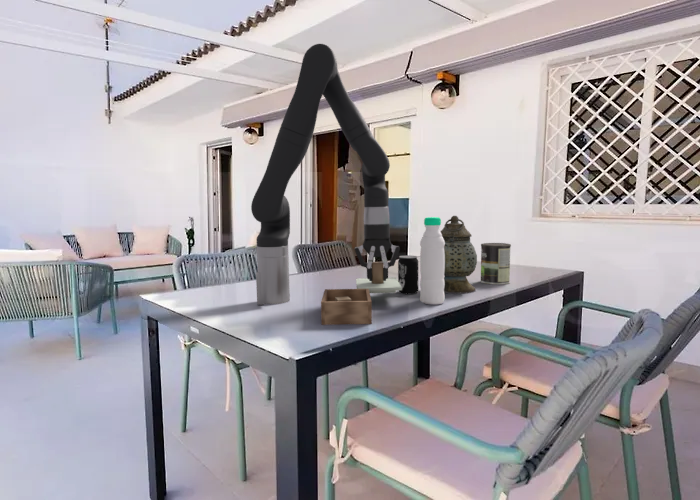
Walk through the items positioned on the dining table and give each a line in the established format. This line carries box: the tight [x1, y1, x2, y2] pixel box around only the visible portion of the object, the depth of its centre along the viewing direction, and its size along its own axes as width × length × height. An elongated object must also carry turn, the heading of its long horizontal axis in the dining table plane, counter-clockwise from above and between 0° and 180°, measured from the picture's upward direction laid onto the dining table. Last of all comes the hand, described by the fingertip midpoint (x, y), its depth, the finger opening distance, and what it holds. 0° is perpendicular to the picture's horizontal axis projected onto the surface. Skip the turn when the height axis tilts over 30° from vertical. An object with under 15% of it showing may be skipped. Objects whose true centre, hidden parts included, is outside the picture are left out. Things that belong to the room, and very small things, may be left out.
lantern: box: [440, 215, 478, 295], centre depth 142 cm, size 14×14×25 cm
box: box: [320, 288, 373, 326], centre depth 109 cm, size 12×16×6 cm
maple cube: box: [335, 296, 351, 301], centre depth 114 cm, size 4×4×4 cm
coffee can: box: [480, 242, 512, 286], centre depth 155 cm, size 10×10×14 cm
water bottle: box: [419, 216, 445, 306], centre depth 124 cm, size 7×7×25 cm
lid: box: [355, 261, 402, 294], centre depth 126 cm, size 13×17×8 cm
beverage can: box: [397, 254, 419, 295], centre depth 140 cm, size 7×7×12 cm
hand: (377, 280), depth 126 cm, fingers closed on lid, 3 cm apart
